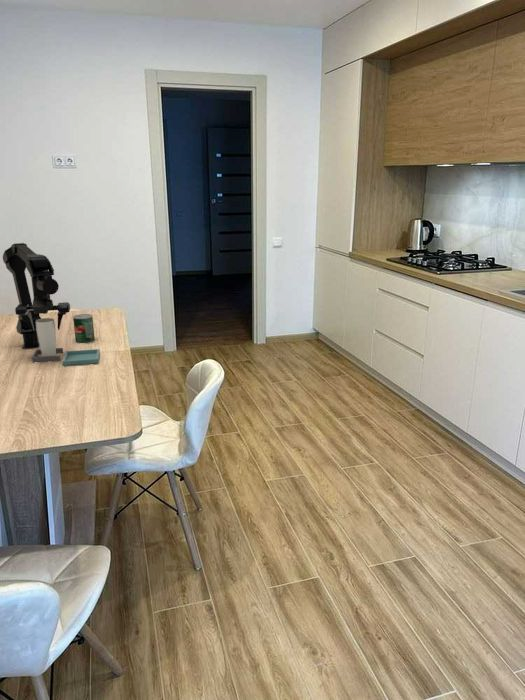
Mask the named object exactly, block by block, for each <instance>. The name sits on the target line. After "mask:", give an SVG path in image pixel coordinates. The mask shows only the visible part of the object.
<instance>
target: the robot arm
mask: <svg viewBox="0 0 525 700" xmlns="http://www.w3.org/2000/svg"><path fill="white" fill-rule="evenodd" d="M2 261H3V264H5V267H6V268H5V269H7V270H8V271H9V273H11V274H12V278H13V282H14V287H15V290H16V295H17V299H18V302H19V303H18V305H17V306H16V307H15V309H14V312H15V315H18V316H17V318H18V320H17V324H16V332H17V333H18V334H19V335H22V339H23V340H22V341H23V345H22V346H21V348H22V349H35V348H36V349H39V348H40V344H39V340H38V336H37V331H36V320H38V319H42V318H41V315H40V314H43V315H46V314H48V312H50V311H57V313H56V315H57V330H58V331H60V329H61V324H62V320H63V316H64V315H65V316H66V314H67V313H69V312H71V304H70V302H66V301H65V302H58V304H55V305H54V301H53V300H52V299H51V295H54V294H56V293H57V292H58V291H59V283H58V281H57V280H56V279H54V278H53V276H55V270H54V269H55V268H54V267H53V265H52V263H51V261H50V259H49V258H48V257H47V256H46V255H43V254H38V253H36V252H35V251H33V250H32V249H31V248H30V247H28V244H27V243H24V242H20V243H17V242H16V243H13V244H11V246H10V247H8V248H7V249H5V250H4V252H3V253H2ZM26 270H27V271H28V273H29V276H30V277H31V285H32V293H33V295H32V296H33V299H32V297H31V294H30V293H31V292H30V290H29V283H28V280H27V277H26Z"/></svg>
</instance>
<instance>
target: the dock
mask: <svg viewBox="0 0 525 700" xmlns="http://www.w3.org/2000/svg"><path fill="white" fill-rule="evenodd" d="M40 354H41V349H40V348H36V349H35V351H34V353H33V355H32V356H31V358H32V359H31V361H32V363H34V364H35V362H37V363H49V362H48V361H51V362H60V361H61V354H64V350H63V347H56V354H59V355H56V356H42V354H41V355H40Z"/></svg>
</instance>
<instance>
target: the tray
mask: <svg viewBox="0 0 525 700" xmlns="http://www.w3.org/2000/svg"><path fill="white" fill-rule="evenodd" d="M100 353H101V352H100V348H97V349H95V348H92V349H81V350H80V349H79V350H66V351H65V353H64V355H63V358H62V360H61V362H62V367H63V366H64V367H76V366H78V367H79V366H88V365H89V366H91V365H90V364H93V365H99V361H100V356H101V355H100Z"/></svg>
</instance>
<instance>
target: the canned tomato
mask: <svg viewBox="0 0 525 700" xmlns="http://www.w3.org/2000/svg"><path fill="white" fill-rule="evenodd" d="M72 320H73V329H74V331H73V332H74V338H75V343H77V344H80V343H85V344H91V343H93V341H94V342H95V341H96V338H95V330H94V318H93V314H87V313H80V314H75V315H73V316H72ZM90 342H91V343H90Z"/></svg>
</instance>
